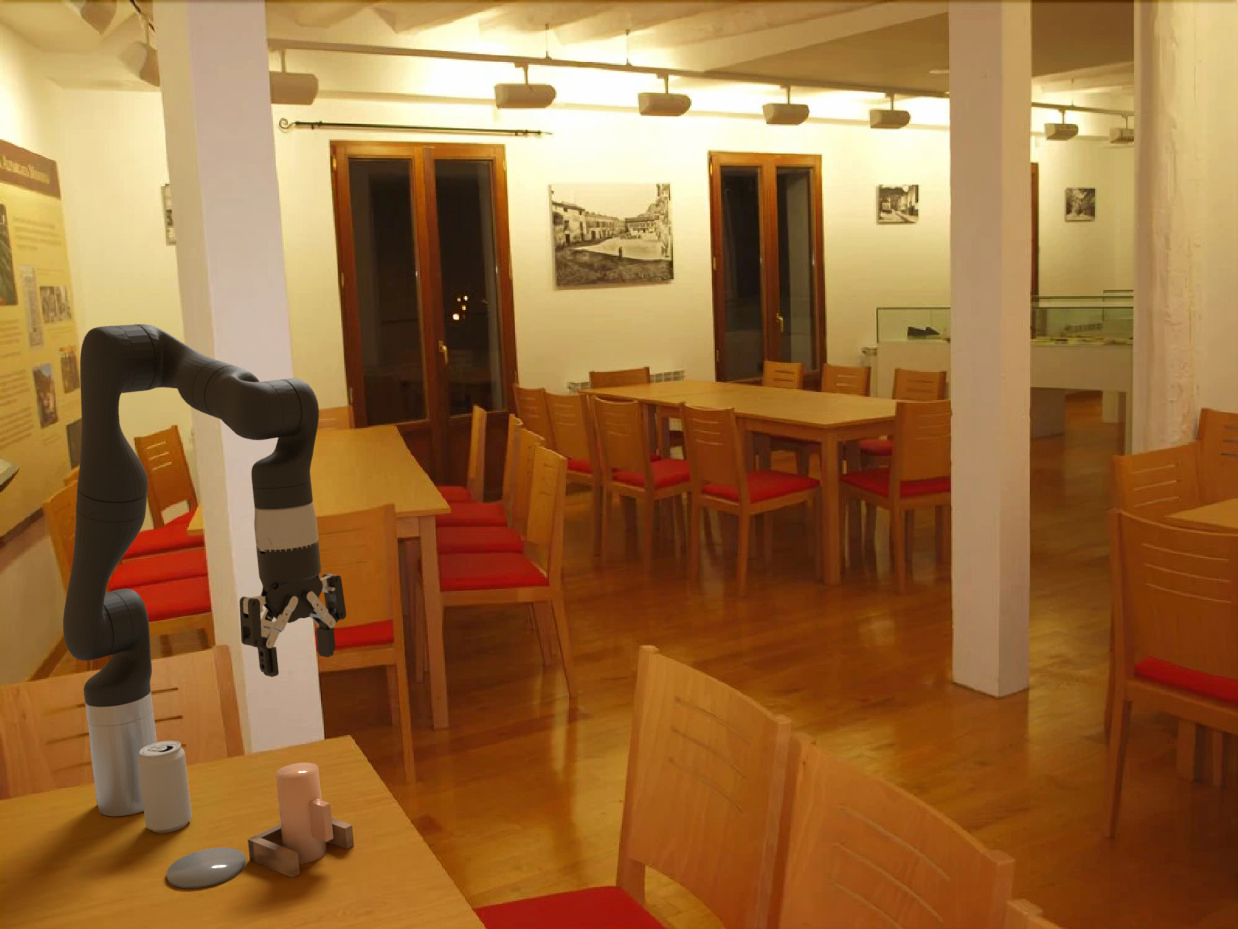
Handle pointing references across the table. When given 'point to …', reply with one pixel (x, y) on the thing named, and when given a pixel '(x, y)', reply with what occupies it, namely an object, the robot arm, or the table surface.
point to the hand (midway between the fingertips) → (299, 665)
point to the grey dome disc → (206, 868)
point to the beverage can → (164, 786)
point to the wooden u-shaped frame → (285, 861)
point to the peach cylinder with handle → (303, 811)
